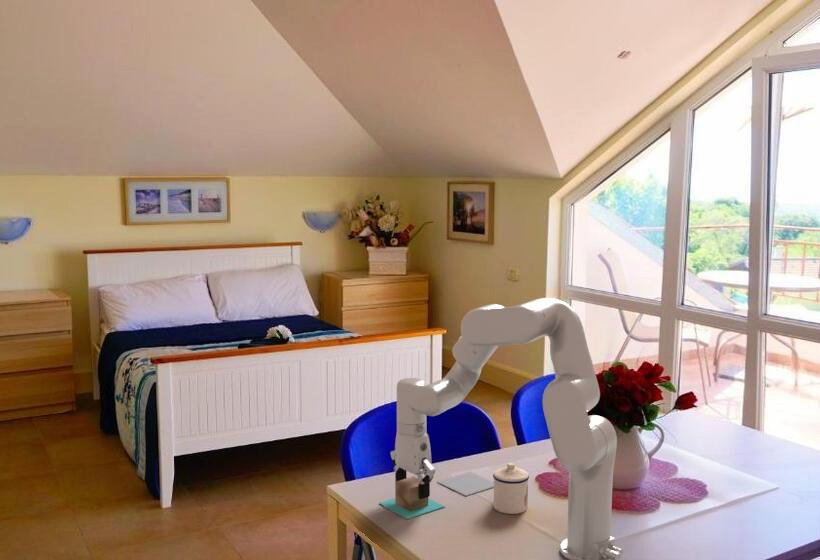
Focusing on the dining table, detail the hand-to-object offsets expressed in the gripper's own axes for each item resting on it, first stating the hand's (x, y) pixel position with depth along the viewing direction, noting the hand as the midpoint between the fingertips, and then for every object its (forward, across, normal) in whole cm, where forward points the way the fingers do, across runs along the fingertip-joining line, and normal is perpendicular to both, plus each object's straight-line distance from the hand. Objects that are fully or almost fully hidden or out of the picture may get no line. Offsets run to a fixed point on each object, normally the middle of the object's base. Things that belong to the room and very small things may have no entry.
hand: (412, 491), depth 214 cm
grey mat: (+4, +2, -21) cm, 21 cm away
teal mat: (+4, 0, 0) cm, 4 cm away
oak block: (+4, 0, 0) cm, 4 cm away
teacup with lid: (+4, -15, -20) cm, 25 cm away
